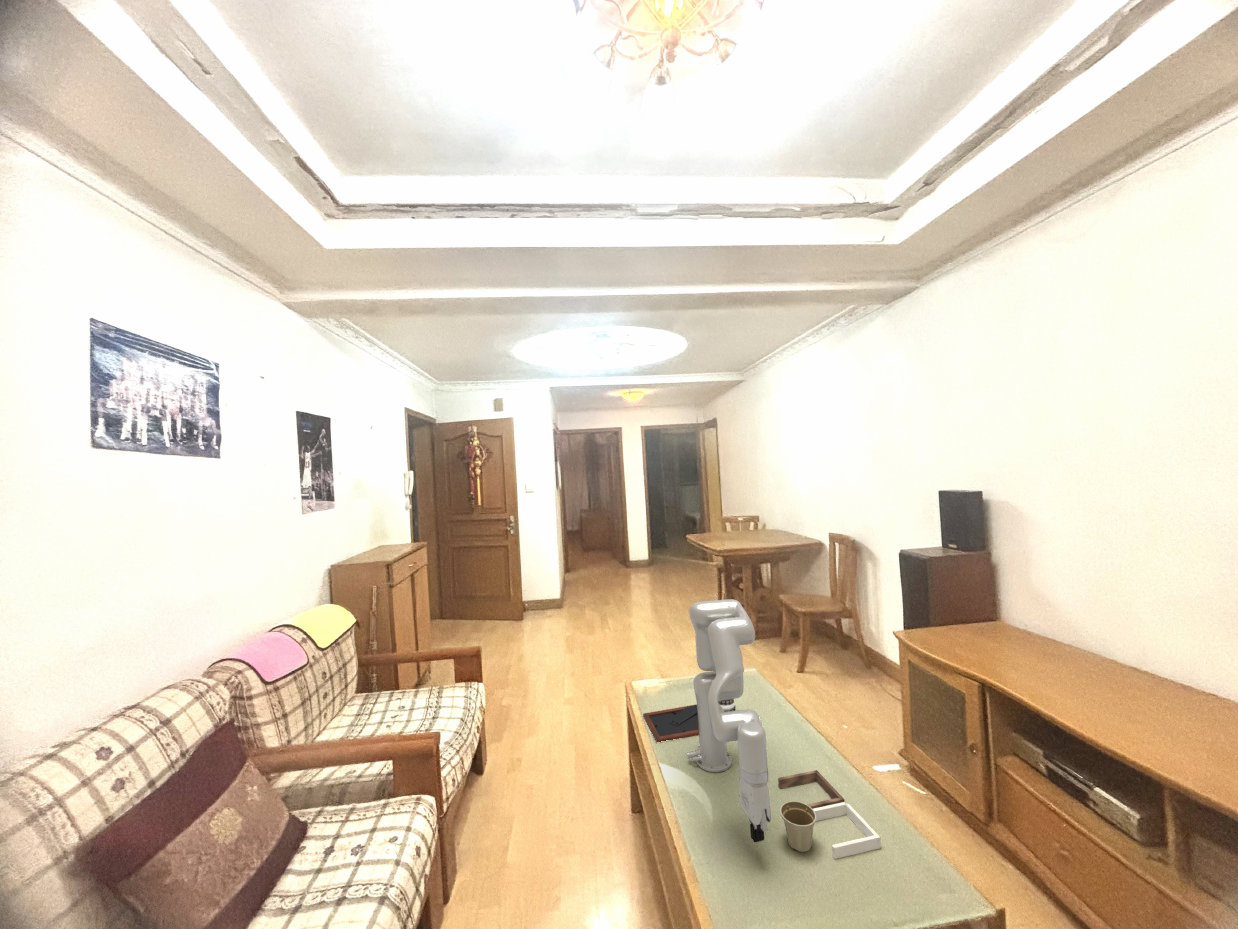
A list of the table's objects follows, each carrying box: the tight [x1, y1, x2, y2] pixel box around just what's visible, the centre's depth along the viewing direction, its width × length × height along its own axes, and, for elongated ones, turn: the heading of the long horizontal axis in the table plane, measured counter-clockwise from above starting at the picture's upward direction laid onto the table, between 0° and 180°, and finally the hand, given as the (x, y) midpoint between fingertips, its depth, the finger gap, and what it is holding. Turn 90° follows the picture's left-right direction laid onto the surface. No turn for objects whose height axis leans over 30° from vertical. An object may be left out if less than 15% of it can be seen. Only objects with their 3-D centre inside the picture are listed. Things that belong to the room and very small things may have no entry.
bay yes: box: [813, 801, 882, 860], centre depth 136 cm, size 14×14×3 cm
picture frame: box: [642, 703, 699, 743], centre depth 197 cm, size 20×2×25 cm
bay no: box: [777, 769, 846, 809], centre depth 151 cm, size 14×14×3 cm
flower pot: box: [779, 800, 817, 853], centre depth 134 cm, size 9×9×9 cm
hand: (757, 839), depth 131 cm, fingers closed
